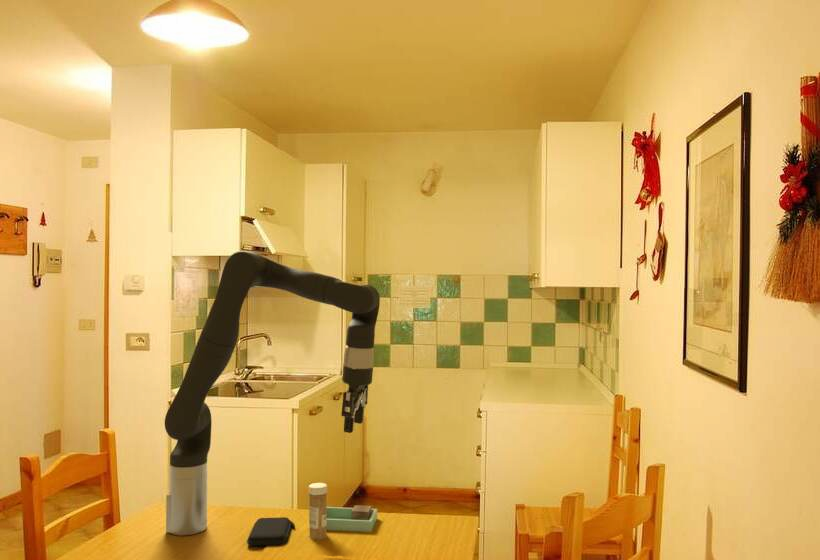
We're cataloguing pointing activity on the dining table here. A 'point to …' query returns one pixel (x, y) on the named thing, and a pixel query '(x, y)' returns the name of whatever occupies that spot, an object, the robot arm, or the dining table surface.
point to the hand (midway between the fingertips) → (353, 427)
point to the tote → (348, 520)
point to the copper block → (361, 512)
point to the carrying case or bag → (270, 532)
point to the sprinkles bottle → (317, 511)
